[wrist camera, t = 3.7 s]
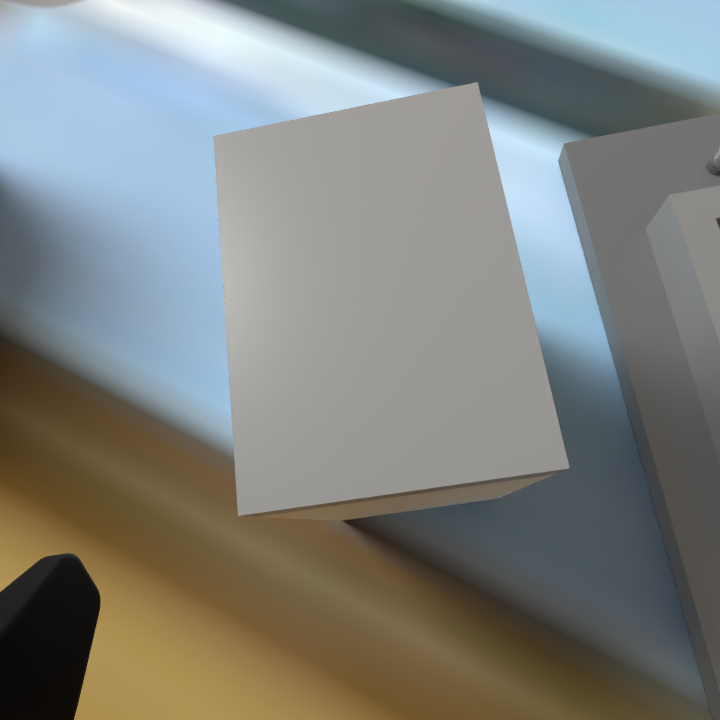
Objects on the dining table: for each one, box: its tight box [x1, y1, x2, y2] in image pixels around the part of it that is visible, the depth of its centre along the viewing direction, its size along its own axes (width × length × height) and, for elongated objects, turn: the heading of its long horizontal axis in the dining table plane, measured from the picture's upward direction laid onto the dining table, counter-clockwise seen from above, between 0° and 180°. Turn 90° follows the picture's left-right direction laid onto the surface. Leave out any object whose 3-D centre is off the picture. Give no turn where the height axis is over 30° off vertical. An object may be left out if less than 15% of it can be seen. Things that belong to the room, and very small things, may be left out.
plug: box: [214, 82, 570, 521], centre depth 14 cm, size 5×7×10 cm
